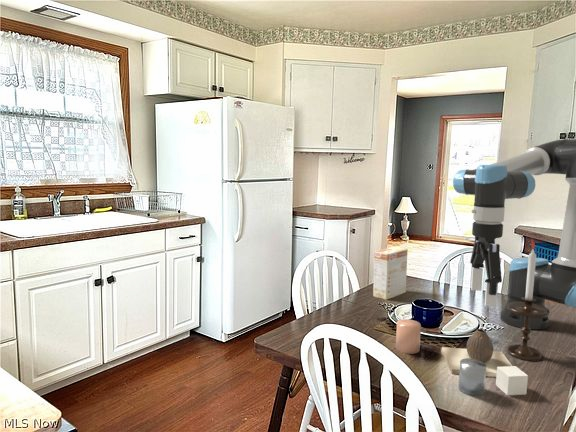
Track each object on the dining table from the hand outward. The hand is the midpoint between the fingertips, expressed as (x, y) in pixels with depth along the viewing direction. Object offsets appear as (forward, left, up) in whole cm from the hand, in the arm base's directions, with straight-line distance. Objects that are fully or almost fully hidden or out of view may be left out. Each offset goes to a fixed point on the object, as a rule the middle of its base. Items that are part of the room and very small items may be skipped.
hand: (482, 297), depth 120 cm
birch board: (0, 0, -19) cm, 19 cm away
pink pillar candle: (+19, -7, -20) cm, 28 cm away
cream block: (-4, +13, -20) cm, 24 cm away
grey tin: (+6, +15, -20) cm, 25 cm away
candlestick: (-15, -9, -20) cm, 26 cm away
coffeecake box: (+20, -60, -20) cm, 66 cm away
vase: (0, 0, -18) cm, 18 cm away
